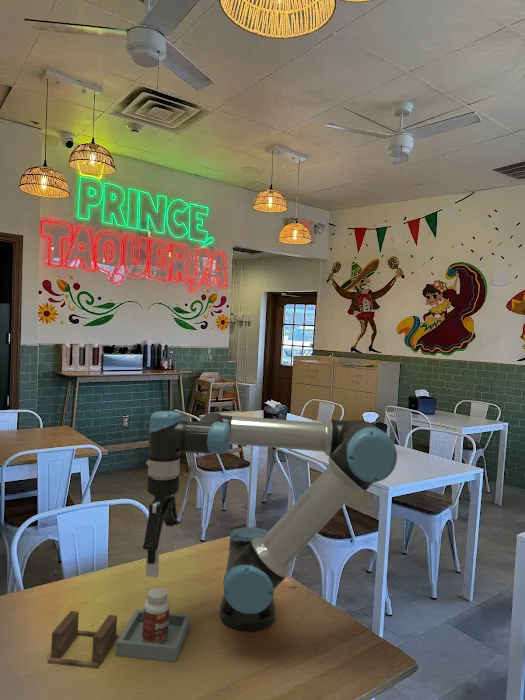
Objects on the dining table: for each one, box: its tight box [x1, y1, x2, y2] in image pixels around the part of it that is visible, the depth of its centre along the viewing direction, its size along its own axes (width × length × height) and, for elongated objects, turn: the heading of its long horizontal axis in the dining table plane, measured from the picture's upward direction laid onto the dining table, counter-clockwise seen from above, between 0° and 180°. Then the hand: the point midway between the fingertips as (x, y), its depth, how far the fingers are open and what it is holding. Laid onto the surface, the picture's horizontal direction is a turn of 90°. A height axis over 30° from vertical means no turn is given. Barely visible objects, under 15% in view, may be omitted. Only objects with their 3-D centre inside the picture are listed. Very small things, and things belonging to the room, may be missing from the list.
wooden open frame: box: [47, 610, 119, 669], centre depth 115 cm, size 12×12×6 cm
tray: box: [115, 609, 191, 663], centre depth 120 cm, size 14×14×3 cm
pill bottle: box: [142, 587, 171, 644], centre depth 120 cm, size 6×6×11 cm
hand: (160, 562), depth 120 cm, fingers open, 13 cm apart
